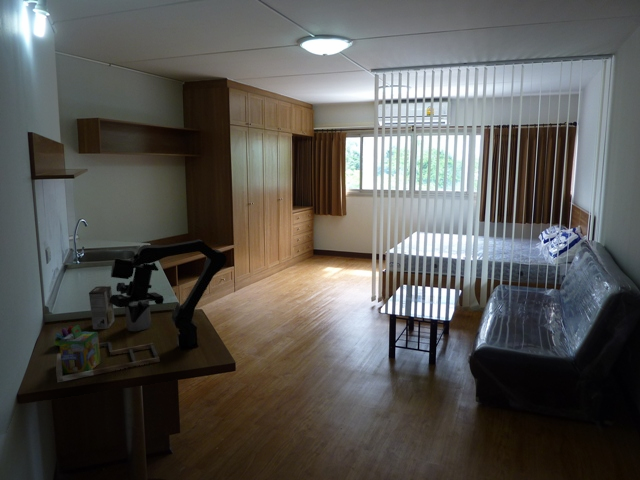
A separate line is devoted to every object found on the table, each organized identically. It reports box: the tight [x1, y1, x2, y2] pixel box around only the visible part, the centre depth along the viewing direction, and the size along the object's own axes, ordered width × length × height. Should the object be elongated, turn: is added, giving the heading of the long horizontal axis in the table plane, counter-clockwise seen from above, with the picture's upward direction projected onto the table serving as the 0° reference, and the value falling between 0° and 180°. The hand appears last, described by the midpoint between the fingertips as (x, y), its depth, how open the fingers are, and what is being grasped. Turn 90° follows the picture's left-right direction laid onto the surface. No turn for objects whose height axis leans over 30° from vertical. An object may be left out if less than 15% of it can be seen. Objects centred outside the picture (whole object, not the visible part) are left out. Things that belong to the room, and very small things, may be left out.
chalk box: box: [59, 324, 102, 375], centre depth 161 cm, size 9×9×15 cm
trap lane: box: [55, 341, 161, 383], centre depth 170 cm, size 32×25×4 cm
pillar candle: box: [124, 295, 152, 332], centre depth 199 cm, size 10×10×15 cm
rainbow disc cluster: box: [53, 326, 78, 347], centre depth 182 cm, size 8×10×7 cm
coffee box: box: [88, 285, 116, 330], centre depth 201 cm, size 9×6×16 cm
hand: (133, 322), depth 170 cm, fingers closed
